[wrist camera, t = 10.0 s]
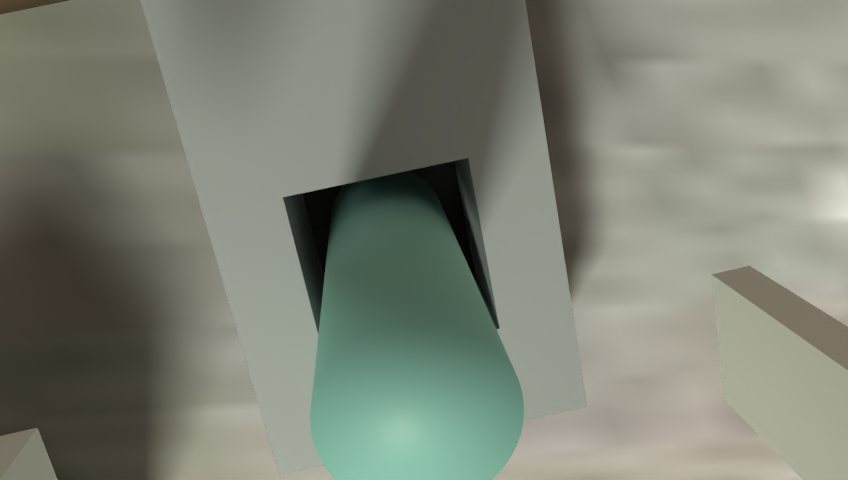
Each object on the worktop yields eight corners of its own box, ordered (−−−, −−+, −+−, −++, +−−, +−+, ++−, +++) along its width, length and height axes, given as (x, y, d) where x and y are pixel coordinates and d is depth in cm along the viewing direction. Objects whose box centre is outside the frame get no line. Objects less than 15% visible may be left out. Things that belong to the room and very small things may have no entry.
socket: (291, 399, 30) (278, 475, 25) (168, -44, 25) (124, -55, 20) (550, 342, 30) (587, 406, 25) (476, -107, 25) (505, -133, 20)
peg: (344, 285, 29) (337, 530, 15) (318, 179, 27) (286, 344, 14) (452, 262, 29) (538, 484, 15) (431, 155, 28) (505, 296, 14)
